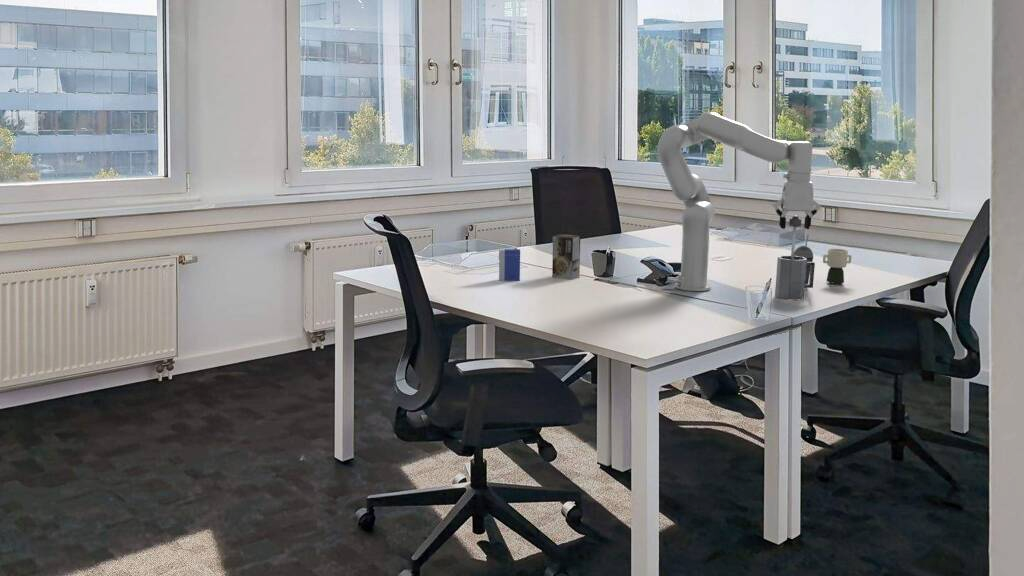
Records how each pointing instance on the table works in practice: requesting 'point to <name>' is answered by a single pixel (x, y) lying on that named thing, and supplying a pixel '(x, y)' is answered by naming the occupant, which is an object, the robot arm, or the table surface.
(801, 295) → the carafe
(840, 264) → the character mug
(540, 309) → the table surface
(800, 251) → the beverage cup
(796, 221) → the plunger
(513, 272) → the walkman
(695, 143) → the robot arm
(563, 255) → the coffee box
